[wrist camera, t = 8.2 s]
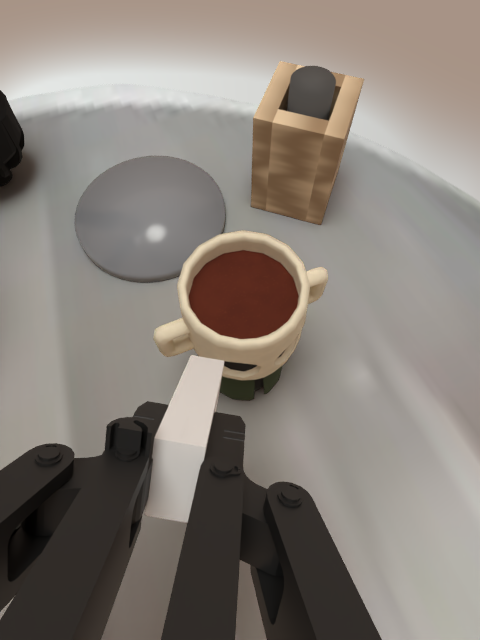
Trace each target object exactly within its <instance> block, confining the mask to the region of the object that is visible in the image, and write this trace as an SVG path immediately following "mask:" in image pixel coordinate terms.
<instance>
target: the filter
mask: <svg viewBox="0 0 480 640" xmlns="http://www.w3.org/2000/svg"><path fill="white" fill-rule="evenodd" d="M23 147H24V134H23V130H22V128H21V126H20V124H19V123H18V121H17V119H16V117H15V115H14V113H13V111H12V109H11V107H10V105H9V103H8V101H7V98H6V96H5V95H4V94H3V92H2V91H1V90H0V186H2V185H4V184H7V183H8V182H9V181H10V180H11V178H12V172H11V170H10V169H11V168H14V167H16V166H17V165H18V164H19V163H20V162H21V160H22V152H21V151H22V149H23Z"/></svg>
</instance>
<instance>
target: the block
mask: <svg viewBox="0 0 480 640" xmlns="http://www.w3.org/2000/svg"><path fill="white" fill-rule="evenodd" d="M301 67H305V66H300V65H295V64H291V63H286V62H281V61H280V62H279V64H278V67H277V69H276V71H275V73H274V75H273V77H272V79H271V81H270V84H269V86H268V88H267V90H266V92H265V94H264V96H263V98H262V101H261V103H260V105H259V107H258V109H257V111H256V113H255V115H254V118H253V152H252V190H251V207H255V208H258V209H262V210H266V211H270V212H273V213H277V214H281V215H285V216H288V217H292V218H296V219H300V220H303V221H307V222H311V223H315V224H318V225H321V223H322V220H323V217H324V214H325V210H326V207H327V204H328V201H329V198H330V195H331V192H332V189H333V186H334V182H335V179H336V176H337V173H338V170H339V166H340V163H341V159H342V156H343V152H344V148H345V145H346V141H347V138H348V134H349V131H350V127H351V124H352V120H353V116H354V113H355V109H356V106H357V102H358V99H359V95H360V92H361V88H362V85H363V81H364V79H362V78H357V77H352V76H347V75H343V74H338V73H333V72H331V73H332V74H333V75H334V77H335V79H336V85H335V90H334V95H333V99H332V104H331V108H330V113H329V117H328V120H323V119H319V118H315V117H310V116H306V115H302V114H297V113H293V112H288V111H287V105H288V96H289V87H290V78H291V75H292V74H293V72H294V71H296V70H297V69H299V68H301Z"/></svg>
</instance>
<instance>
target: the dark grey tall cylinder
mask: <svg viewBox="0 0 480 640" xmlns="http://www.w3.org/2000/svg"><path fill="white" fill-rule="evenodd" d="M335 85H336V79H335V77H334V75H333V74H332V73H331V72H330V71H329V70H327V69H325V68H322V67H318V66H305V67H301V68H299V69H297V70H296V71H294V72H293V74H292V75H291V78H290V87H289V96H288V105H287V111H288V112H293V113H297V114H302V115H306V116H310V117H315V118H319V119H323V120H328V117H329V113H330V108H331V104H332V99H333V95H334V90H335Z"/></svg>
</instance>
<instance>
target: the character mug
mask: <svg viewBox="0 0 480 640" xmlns="http://www.w3.org/2000/svg"><path fill="white" fill-rule="evenodd" d="M327 281H328V273H327V270H326V269H324V268H323V267H318V268H314V269H312V270H309V271H306V270H305V266H304V263H303V262H302V260H301V259H300V258H299V257H298V256H297V255H296V254H295V253H294V251H293V250H292V249H291V248H290V247H289V246H288V245H287V244H285V243H283V242H281V241H279V240H277V239H275V238H273V237H271V236H270V235H268V234H263V233H256V232H250V231H244V230H242V231H236V232H230V233H224V234H219V235H217V236H215V237H213V238H211V239H210V240H208V241H206V242H204V243H203V244H201V245H199V246H198V247H197V248H196V249H195V250H194V252H193V253H192V254H191V255H190V256H189V258H188V259H187V260H186V261H185V263H184V264H183V267H182V271H181V274H180V277H179V281H178V284H177V289H178V296H179V302H180V309H181V314H182V317H183V318H181V319H178V320H175V321H173V322H170V323H167V324H165V325H162V326H160V327H158V328H156V329H155V332H154V338H153V339H154V341H155V343H156V345H157V347H158V348H159V350H160V352H161V353H162V354H163V355H164V356H166V357H170V356H175V355H178V354H181V353H183V352H186V351H188V350H191V349H194V350H195V351H196V353H197V354H198V356H200V357H205V358H211V359H217V360H223V361H224V367H223V373H222V379H221V385H220V391H219V392H221V393H223V394H225V395H226V396H228V397H230V398H232V399H241V400H251V399H254V390H258V389H260V388H261V387H262V386H263V385H264V394H266V393H268V392H269V391H270V390H271V389H272V387H273V386H274V385H275V384H276V383H277V381H278V380H279V377H280V373H281V369H282V365H283V364H284V363H286V361H287V360H288V359H289V357H290V356H291V354H292V353H293V351H294V350H295V348H296V346H297V344H298V342H299V339H300V336H301V331H302V328H303V326H304V324H305V319H306V312H307V306H308V304H309V303H312V302H314V301H316V300H318V299H319V298H320V297H321V296H322V294H323V291H324V289H325V286H326V283H327Z"/></svg>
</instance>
